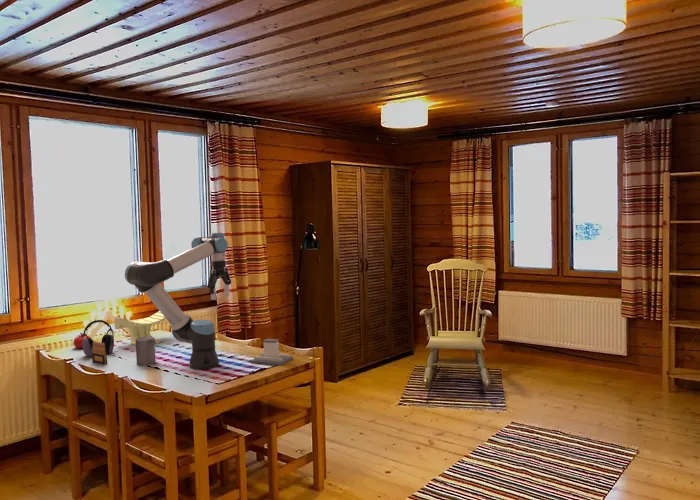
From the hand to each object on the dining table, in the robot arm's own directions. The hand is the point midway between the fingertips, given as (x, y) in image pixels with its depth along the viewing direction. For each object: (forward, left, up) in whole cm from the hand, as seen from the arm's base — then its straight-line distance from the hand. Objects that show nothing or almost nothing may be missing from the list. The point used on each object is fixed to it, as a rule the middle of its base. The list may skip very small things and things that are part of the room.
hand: (220, 297), depth 327 cm
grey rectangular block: (-7, -35, -30) cm, 47 cm away
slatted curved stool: (+12, +64, -32) cm, 73 cm away
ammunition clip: (-35, +55, -32) cm, 73 cm away
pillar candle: (-29, +29, -32) cm, 52 cm away
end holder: (-7, -35, -32) cm, 48 cm away
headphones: (-20, +70, -32) cm, 80 cm away
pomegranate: (-9, +93, -32) cm, 99 cm away
